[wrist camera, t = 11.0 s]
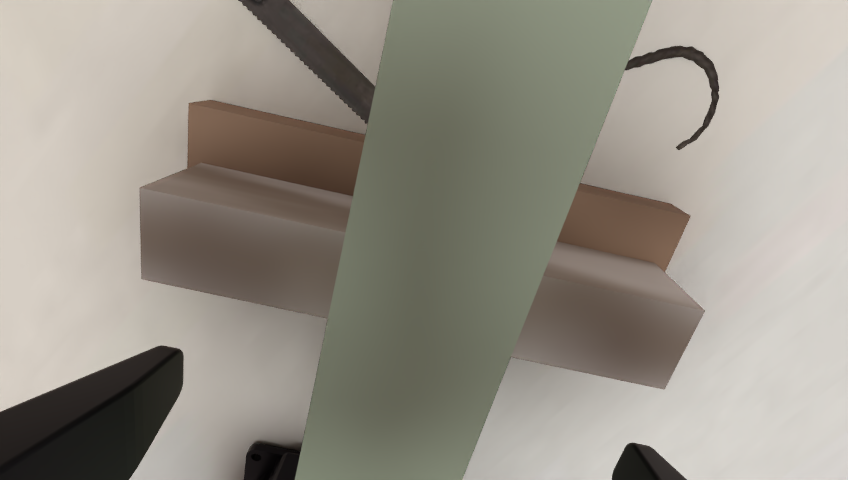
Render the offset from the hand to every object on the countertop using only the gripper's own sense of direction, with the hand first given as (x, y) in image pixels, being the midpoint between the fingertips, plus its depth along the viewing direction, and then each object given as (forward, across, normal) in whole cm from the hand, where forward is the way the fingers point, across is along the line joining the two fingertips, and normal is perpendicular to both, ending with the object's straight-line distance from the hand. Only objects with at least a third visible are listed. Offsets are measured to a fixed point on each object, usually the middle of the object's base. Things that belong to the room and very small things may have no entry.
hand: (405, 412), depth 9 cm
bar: (+5, 0, 0) cm, 5 cm away
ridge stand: (+10, 0, 0) cm, 10 cm away
